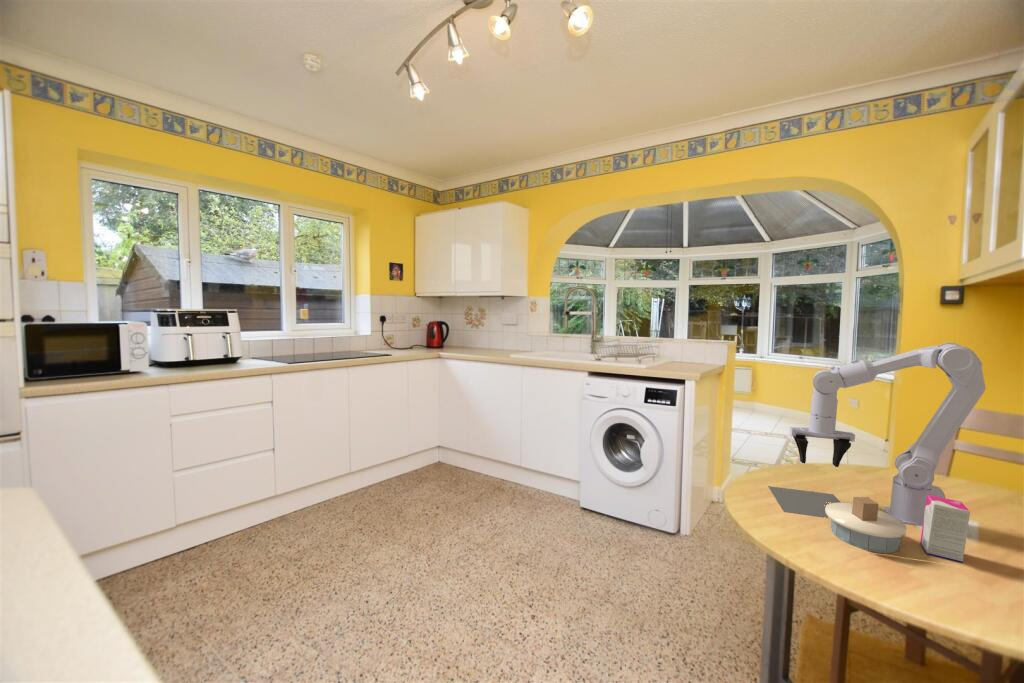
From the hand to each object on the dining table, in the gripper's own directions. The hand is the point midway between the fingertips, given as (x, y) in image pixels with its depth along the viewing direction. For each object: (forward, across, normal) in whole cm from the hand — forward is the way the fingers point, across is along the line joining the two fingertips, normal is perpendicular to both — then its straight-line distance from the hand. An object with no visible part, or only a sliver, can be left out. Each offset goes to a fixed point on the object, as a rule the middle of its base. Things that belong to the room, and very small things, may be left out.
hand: (818, 463), depth 120 cm
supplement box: (+10, -16, +22) cm, 29 cm away
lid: (+5, -3, +20) cm, 21 cm away
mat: (+9, +3, +5) cm, 11 cm away
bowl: (+9, -3, +21) cm, 23 cm away
